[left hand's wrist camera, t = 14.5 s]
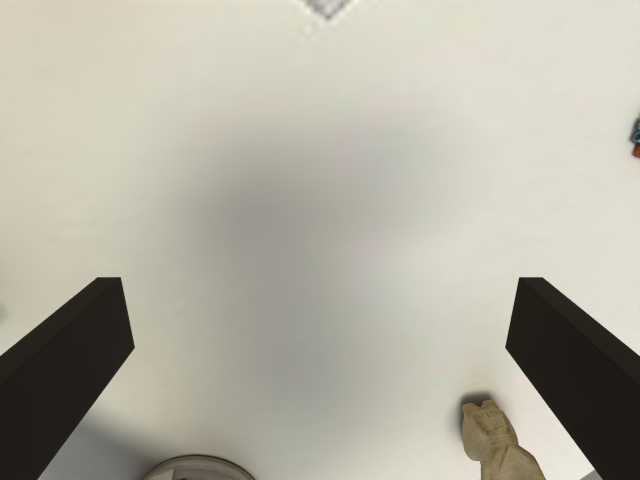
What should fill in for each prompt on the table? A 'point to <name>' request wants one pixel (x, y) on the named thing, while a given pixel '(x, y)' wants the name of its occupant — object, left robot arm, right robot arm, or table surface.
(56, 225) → the table surface
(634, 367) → the left robot arm
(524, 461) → the sculpture
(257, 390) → the table surface
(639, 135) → the toy gun
